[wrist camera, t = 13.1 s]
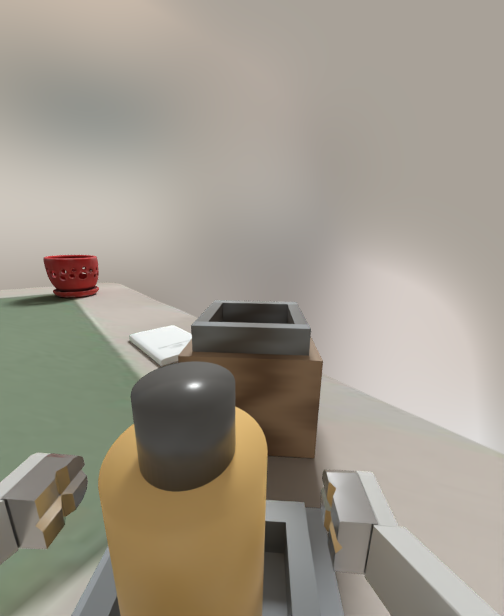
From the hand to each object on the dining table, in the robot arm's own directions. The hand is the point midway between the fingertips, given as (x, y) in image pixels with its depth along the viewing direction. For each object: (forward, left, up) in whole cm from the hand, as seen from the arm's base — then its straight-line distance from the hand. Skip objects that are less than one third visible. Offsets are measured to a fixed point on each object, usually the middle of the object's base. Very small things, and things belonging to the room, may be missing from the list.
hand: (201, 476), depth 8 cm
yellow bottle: (0, -1, -7) cm, 7 cm away
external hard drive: (-13, +30, -9) cm, 34 cm away
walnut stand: (+1, +14, -8) cm, 16 cm away
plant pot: (-56, +66, -8) cm, 87 cm away
